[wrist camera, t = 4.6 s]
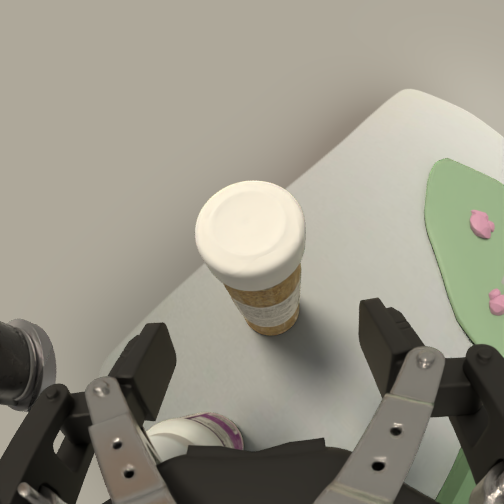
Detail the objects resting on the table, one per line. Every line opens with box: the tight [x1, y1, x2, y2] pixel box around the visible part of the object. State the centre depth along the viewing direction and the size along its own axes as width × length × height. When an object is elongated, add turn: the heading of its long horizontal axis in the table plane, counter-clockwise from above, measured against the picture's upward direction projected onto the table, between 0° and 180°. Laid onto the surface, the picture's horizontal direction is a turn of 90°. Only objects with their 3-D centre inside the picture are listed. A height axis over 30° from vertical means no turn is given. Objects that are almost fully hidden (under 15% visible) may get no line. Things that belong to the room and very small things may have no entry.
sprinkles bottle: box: [195, 181, 306, 335], centre depth 18 cm, size 5×5×13 cm
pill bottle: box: [147, 412, 244, 461], centre depth 15 cm, size 5×5×10 cm
